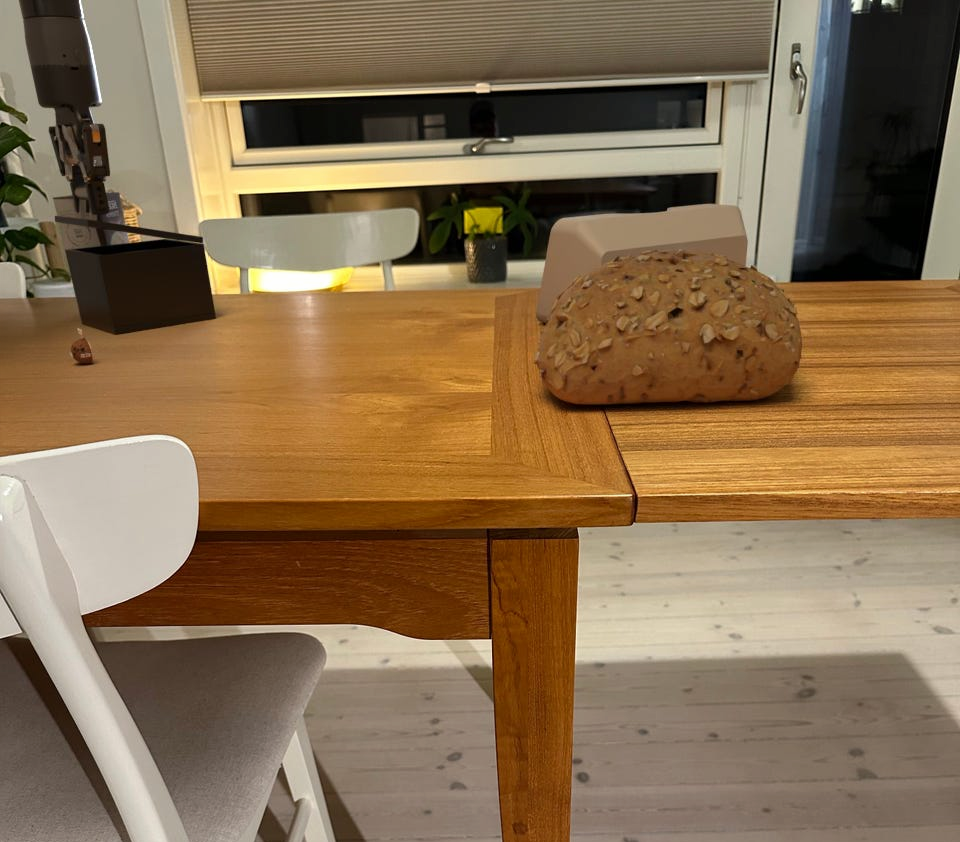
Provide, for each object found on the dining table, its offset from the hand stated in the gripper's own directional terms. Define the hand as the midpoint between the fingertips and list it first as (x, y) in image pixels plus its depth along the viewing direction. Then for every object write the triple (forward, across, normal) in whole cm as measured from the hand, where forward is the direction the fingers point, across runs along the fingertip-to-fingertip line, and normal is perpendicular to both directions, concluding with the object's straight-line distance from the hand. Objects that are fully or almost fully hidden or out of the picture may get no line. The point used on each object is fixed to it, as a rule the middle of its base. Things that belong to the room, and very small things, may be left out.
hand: (92, 213), depth 126 cm
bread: (+14, +78, +24) cm, 82 cm away
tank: (+14, +56, +48) cm, 75 cm away
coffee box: (+15, -14, +5) cm, 21 cm away
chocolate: (+15, +21, -12) cm, 29 cm away
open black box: (+14, 0, +5) cm, 15 cm away
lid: (+3, 0, +4) cm, 5 cm away
